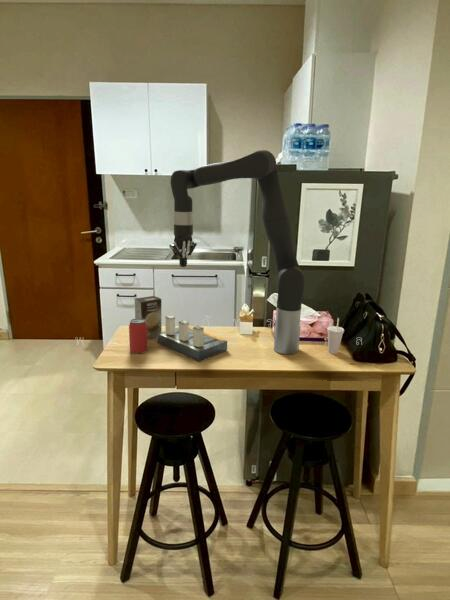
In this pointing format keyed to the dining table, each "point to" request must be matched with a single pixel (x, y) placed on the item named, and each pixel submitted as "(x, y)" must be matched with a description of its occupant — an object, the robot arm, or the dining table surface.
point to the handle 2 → (198, 336)
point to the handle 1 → (170, 325)
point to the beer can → (138, 335)
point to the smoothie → (334, 338)
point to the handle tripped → (183, 330)
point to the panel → (187, 348)
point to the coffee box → (149, 314)
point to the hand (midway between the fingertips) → (183, 266)
